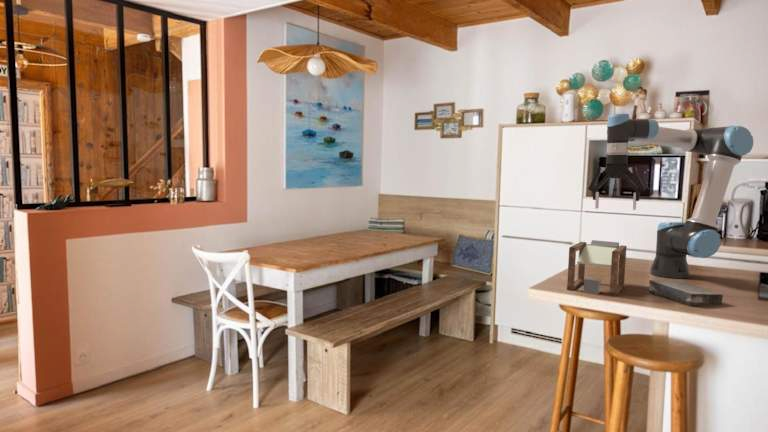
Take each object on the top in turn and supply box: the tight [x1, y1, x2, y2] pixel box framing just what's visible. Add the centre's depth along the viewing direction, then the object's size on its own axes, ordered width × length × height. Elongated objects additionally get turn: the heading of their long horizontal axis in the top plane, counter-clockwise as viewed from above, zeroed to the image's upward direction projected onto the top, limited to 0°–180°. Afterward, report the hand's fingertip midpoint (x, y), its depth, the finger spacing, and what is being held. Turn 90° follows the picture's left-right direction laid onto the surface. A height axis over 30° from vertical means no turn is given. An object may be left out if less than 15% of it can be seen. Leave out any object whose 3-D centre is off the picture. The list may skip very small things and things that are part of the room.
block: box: [648, 279, 724, 307], centre depth 187 cm, size 14×20×5 cm
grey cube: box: [583, 276, 602, 295], centre depth 194 cm, size 5×5×5 cm
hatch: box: [577, 239, 620, 268], centre depth 203 cm, size 12×21×6 cm, turn 147°
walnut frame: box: [566, 241, 627, 297], centre depth 200 cm, size 17×19×16 cm
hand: (615, 209), depth 206 cm, fingers open, 13 cm apart
